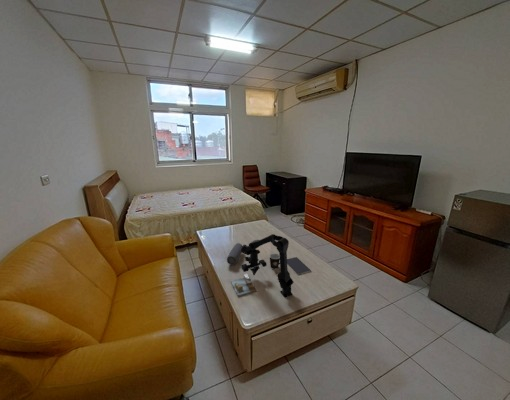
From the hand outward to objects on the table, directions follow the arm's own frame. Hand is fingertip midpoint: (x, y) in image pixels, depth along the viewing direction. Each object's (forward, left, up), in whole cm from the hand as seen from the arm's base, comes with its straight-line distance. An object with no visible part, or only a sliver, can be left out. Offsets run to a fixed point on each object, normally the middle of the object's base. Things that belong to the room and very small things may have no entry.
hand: (253, 275), depth 164 cm
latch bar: (-3, +6, -1) cm, 7 cm away
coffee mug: (+5, -22, -3) cm, 23 cm away
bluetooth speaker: (+30, +5, -3) cm, 31 cm away
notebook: (0, -39, -3) cm, 39 cm away
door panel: (-7, +11, -2) cm, 13 cm away
